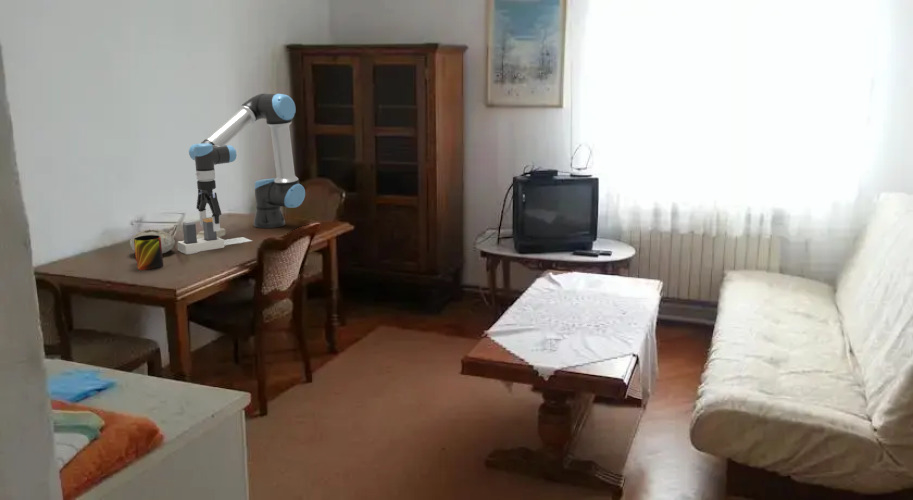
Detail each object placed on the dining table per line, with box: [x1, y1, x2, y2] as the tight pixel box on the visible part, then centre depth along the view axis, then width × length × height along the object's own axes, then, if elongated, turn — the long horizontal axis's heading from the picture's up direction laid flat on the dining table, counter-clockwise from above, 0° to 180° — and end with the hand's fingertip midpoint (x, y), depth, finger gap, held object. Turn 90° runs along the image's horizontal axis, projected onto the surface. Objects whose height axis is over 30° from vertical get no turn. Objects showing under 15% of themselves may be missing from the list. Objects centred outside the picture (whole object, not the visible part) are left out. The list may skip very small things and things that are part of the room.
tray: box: [224, 236, 253, 246], centre depth 351 cm, size 14×10×1 cm
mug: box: [134, 235, 164, 271], centre depth 309 cm, size 10×14×12 cm
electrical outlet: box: [196, 227, 226, 239], centre depth 356 cm, size 7×4×18 cm
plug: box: [202, 217, 217, 241], centre depth 339 cm, size 4×4×11 cm
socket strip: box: [177, 220, 225, 256], centre depth 336 cm, size 17×9×13 cm, turn 131°
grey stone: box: [129, 228, 176, 255], centre depth 330 cm, size 18×18×10 cm
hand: (210, 228), depth 339 cm, fingers open, 13 cm apart
